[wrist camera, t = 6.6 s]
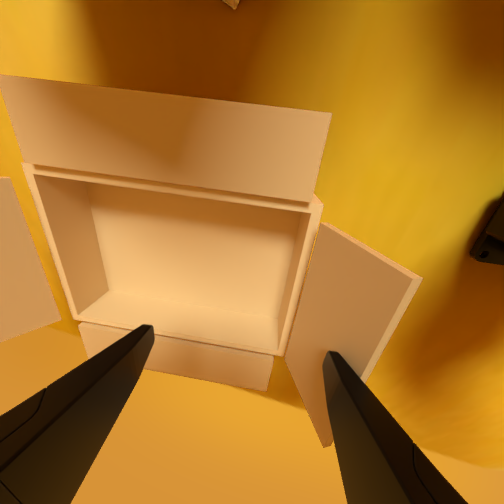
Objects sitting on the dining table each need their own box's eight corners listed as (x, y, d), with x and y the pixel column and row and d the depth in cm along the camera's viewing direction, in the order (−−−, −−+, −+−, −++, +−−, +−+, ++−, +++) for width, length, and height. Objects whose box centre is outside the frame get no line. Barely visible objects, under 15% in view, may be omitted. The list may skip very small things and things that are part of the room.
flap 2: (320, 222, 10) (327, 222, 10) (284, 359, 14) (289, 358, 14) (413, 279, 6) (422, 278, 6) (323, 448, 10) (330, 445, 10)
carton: (329, 126, 12) (350, 115, 8) (275, 351, 20) (275, 393, 16) (62, 94, 13) (-20, 71, 9) (113, 322, 21) (80, 357, 17)
